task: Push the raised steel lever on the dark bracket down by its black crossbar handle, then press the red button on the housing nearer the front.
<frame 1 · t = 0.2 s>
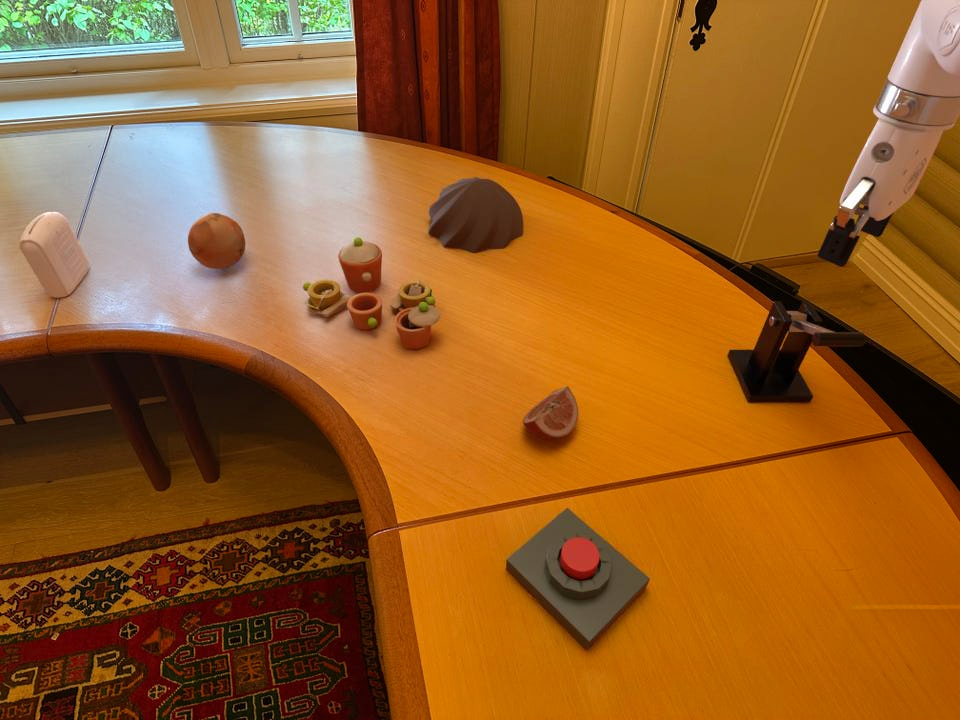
hand: (849, 246, 74), 24 cm above the table, tool pointing down, fingers open, 9 cm apart
toy tea set: (383, 310, 103), on the table
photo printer: (71, 282, 109), on the table
decorative dome: (475, 227, 123), on the table
lever: (813, 329, 78), point 13 cm above the table, hinge at 28.0°
button box: (575, 578, 67), on the table
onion: (224, 264, 113), on the table
fruit slice: (549, 428, 84), on the table
bracket: (767, 378, 91), on the table
button: (579, 558, 64), point 4 cm above the table, slide at 0.1 cm
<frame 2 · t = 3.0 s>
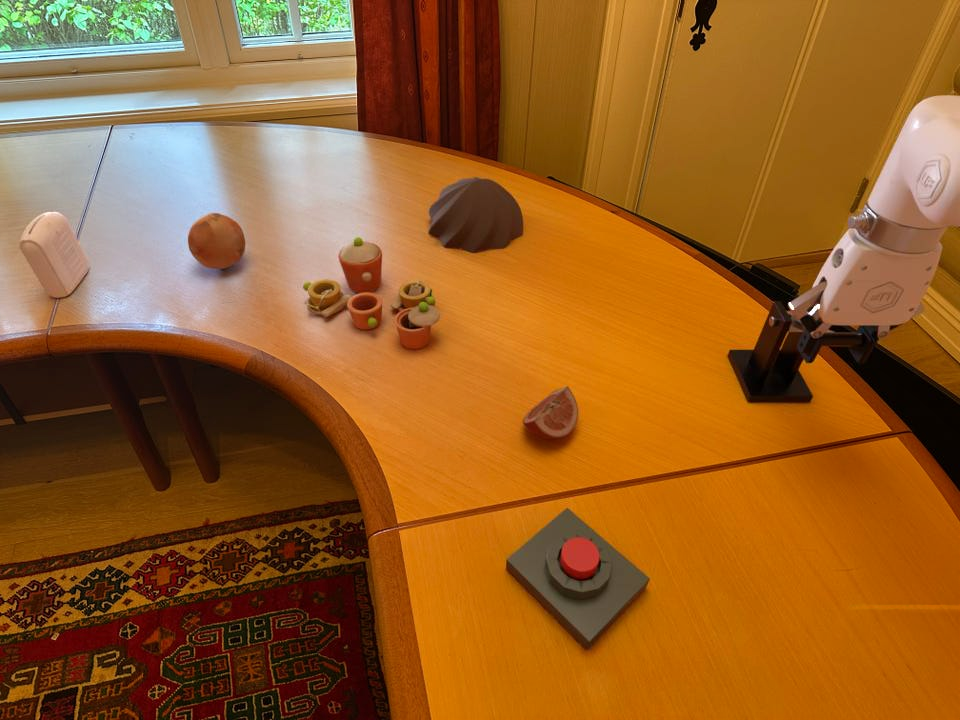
hand: (830, 354, 74), 14 cm above the table, tool pointing down, fingers closed on lever, 5 cm apart
lever: (813, 329, 78), point 13 cm above the table, hinge at 28.0°, touching gripper
everything else where it was.
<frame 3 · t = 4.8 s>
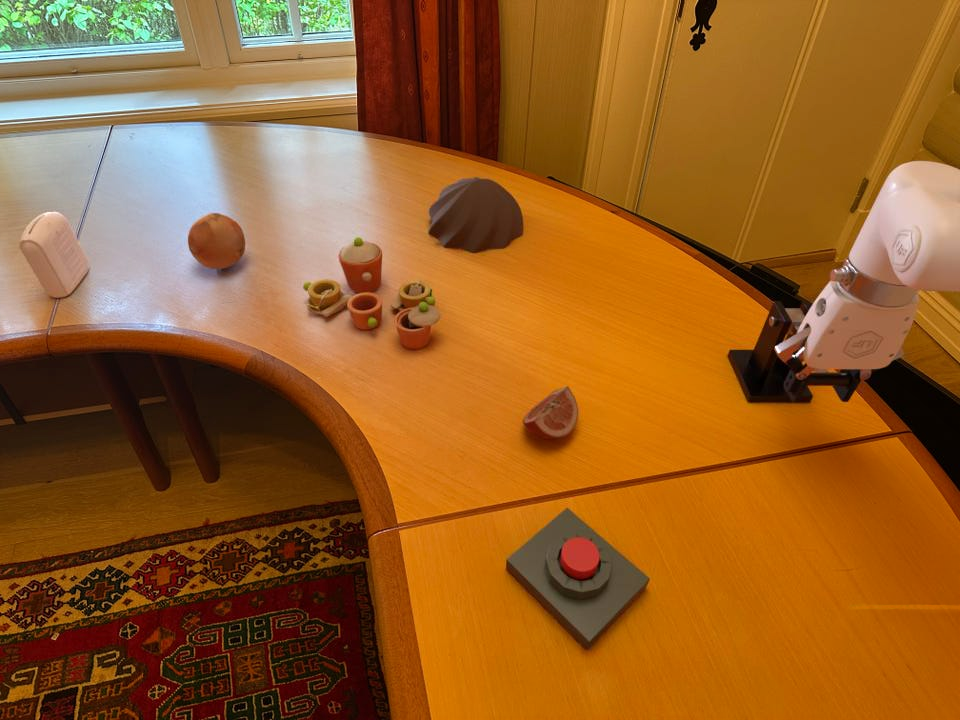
hand: (815, 393, 78), 8 cm above the table, tool pointing down, fingers closed on lever, 5 cm apart
lever: (807, 347, 80), point 11 cm above the table, hinge at -1.7°, touching gripper
everything else where it was.
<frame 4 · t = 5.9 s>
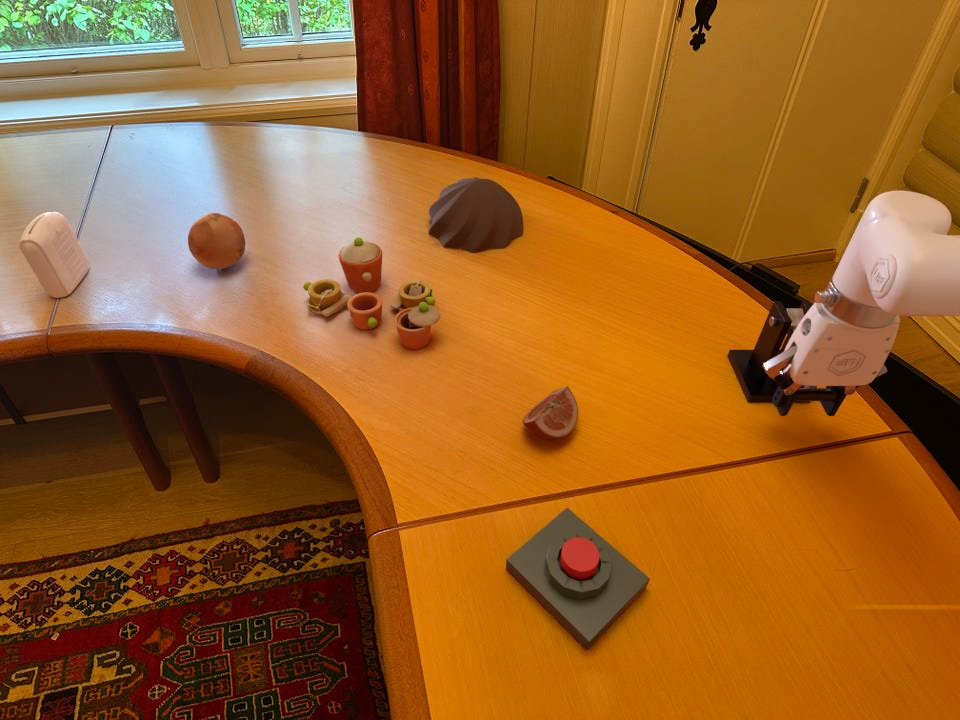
hand: (803, 407, 81), 4 cm above the table, tool pointing down, fingers closed on lever, 5 cm apart
lever: (802, 355, 81), point 9 cm above the table, hinge at -20.1°, touching gripper
everything else where it was.
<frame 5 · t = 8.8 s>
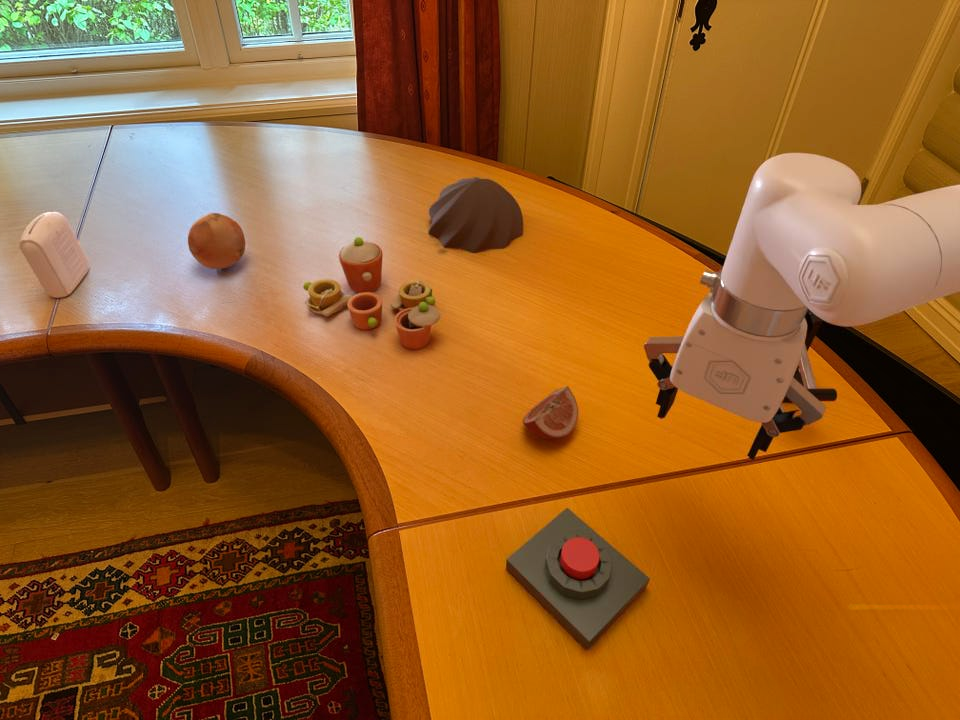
hand: (708, 429, 64), 15 cm above the table, tool pointing down, fingers open, 9 cm apart
lever: (801, 355, 81), point 9 cm above the table, hinge at -20.5°
everything else where it was.
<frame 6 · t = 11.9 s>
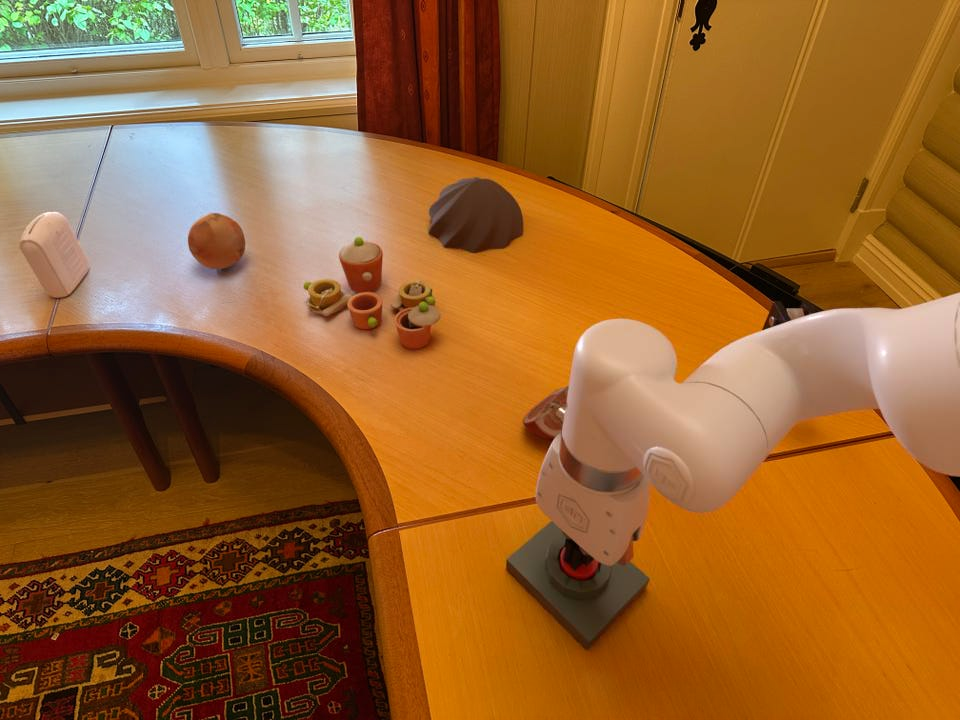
hand: (578, 557, 64), 4 cm above the table, tool pointing down, fingers closed
button: (578, 562, 65), point 4 cm above the table, slide at -0.8 cm, touching gripper
everything else where it was.
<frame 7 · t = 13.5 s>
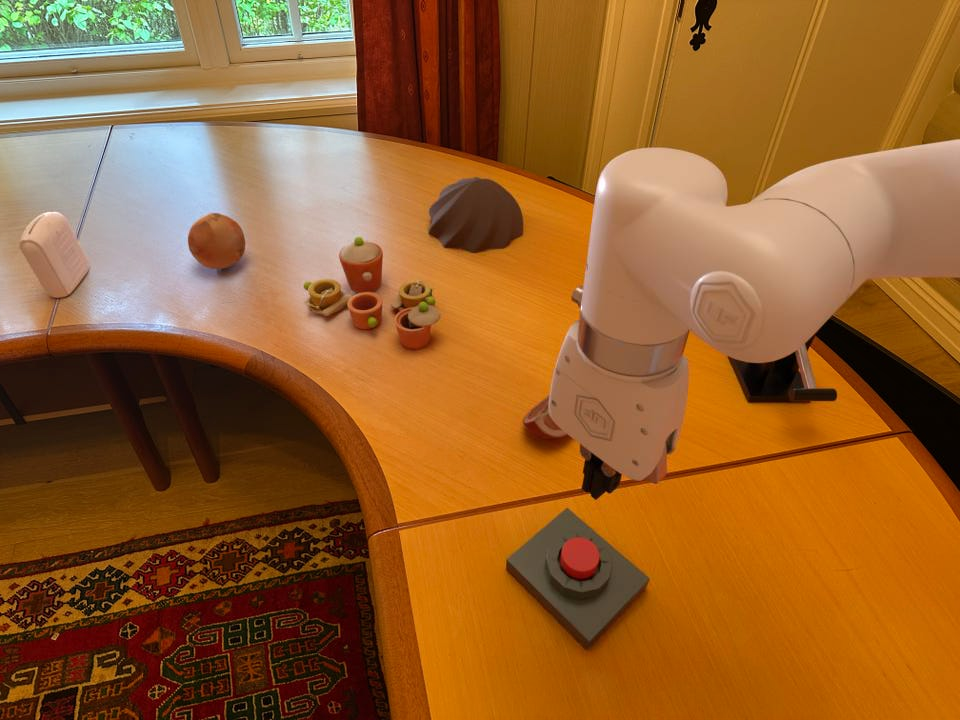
hand: (599, 485, 55), 18 cm above the table, tool pointing down, fingers closed
button: (579, 558, 64), point 4 cm above the table, slide at 0.1 cm
everything else where it was.
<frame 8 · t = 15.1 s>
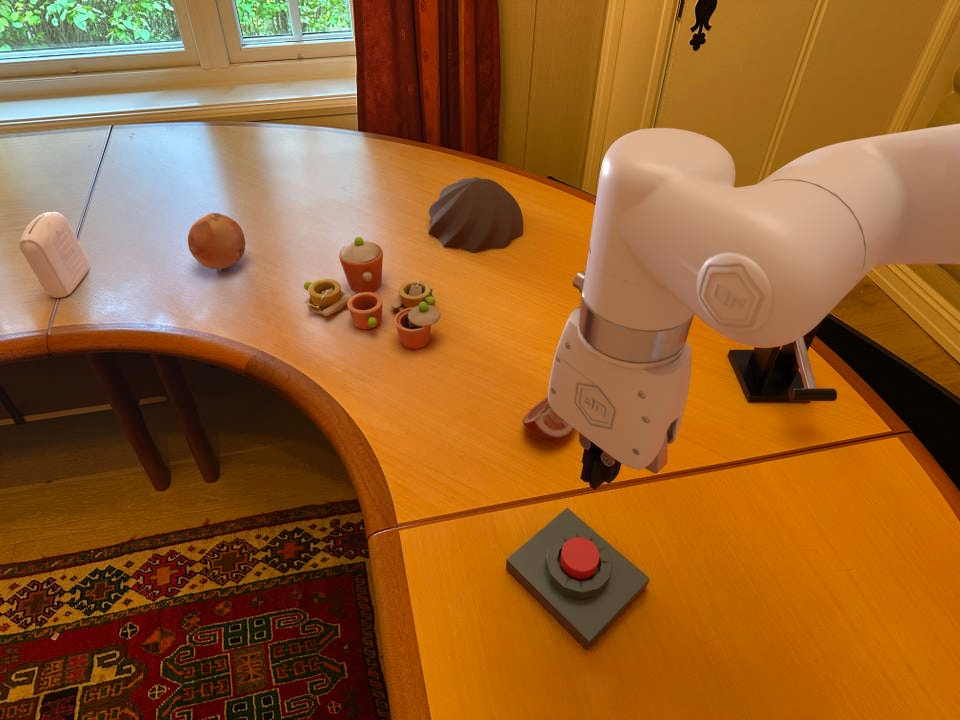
hand: (598, 475, 54), 19 cm above the table, tool pointing down, fingers closed
nothing on the table moved.
at the end: lever at -20° (first picture: +28°); button pushed in 1.1 cm at the most during the clip, back to where it started at the end; button slide at 0.1 cm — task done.
